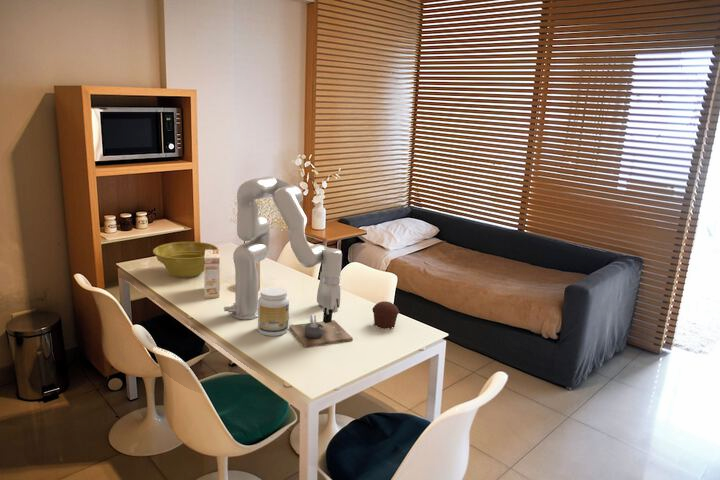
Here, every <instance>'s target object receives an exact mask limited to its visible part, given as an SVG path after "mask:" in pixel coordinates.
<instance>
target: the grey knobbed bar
mask: <svg viewBox="0 0 720 480" xmlns="http://www.w3.org/2000/svg"><path fill="white" fill-rule="evenodd" d="M309 317H310V318H309V319H310V320H309V321H310V322H308V323H309V324H307V325H305V336H306V337H308V338H312V339H316V338H320V337H322V336H323V326H322V325H321V324H318V323H316V322H317V316H316V315H315V314H311V315H310V316H309Z"/></svg>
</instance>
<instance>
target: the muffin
mask: <svg viewBox="0 0 720 480" xmlns="http://www.w3.org/2000/svg"><path fill="white" fill-rule="evenodd" d="M372 313H373V320H374V321H373V322H374V326H376V327H377V328H378V329H382V328H383V330H389V329H390V330H391V329H393V328H395V326H396V322H397V319H398V318H397V317H398V315H399V314H400V310H399V309H398V306H396V305H395V303H392V302H390V301H386V300H385V301H379V302H377V303H376V304H375V305H374V306H373V307H372ZM392 327H393V328H392ZM388 328H389V329H388Z"/></svg>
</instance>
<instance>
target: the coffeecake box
mask: <svg viewBox="0 0 720 480" xmlns="http://www.w3.org/2000/svg"><path fill="white" fill-rule="evenodd" d="M203 273H204V278H203V279H204V281H203V282H204V286H203V287H204V291H203V292H204V296H203V297H204V299H219V298H220V296H221V295H220V293H221V251H220V249H218V250H205V255H204V271H203Z"/></svg>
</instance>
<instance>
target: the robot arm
mask: <svg viewBox="0 0 720 480" xmlns="http://www.w3.org/2000/svg"><path fill="white" fill-rule="evenodd" d="M267 198H272V200H273V203H274V205H275V207H276V209H277V211H278V212H279V214H280V216H281V217H282V220H283V221H284V224H285V225H286V227H287V229H288V238H289V244H290V248H291V250H292V252H293V254H294V255H295V257H296V260H297V261H298V262H299V263H300V265H301V266H303V267H304V268H313V267H315V266H317V265H320V264H321V266H322V276H321V280H320V279H319V283H318V288H317V294H316V303H317V304H318V305H319V304H320V305H321V306H322V307H321V308H322V313H323V315H322V317H323V318H322V321H323V322H325V323H329V322H331V321H332V320H333V313H335V314H336V313H338V309H339V308H340V305H341V284H340V283H341V272H342V264H343V263H342V262H343V261H342V260H343V253H342V250H340V248H339V249H338V248H334V247H329V246H326V245H323V244H319V243H316V244H313V245H311V246H310V245H309V243H308V240H307V237H306V231H305V230H306V226H307V223H308V217H307V215H306V213H305V212H304V210H303V208H302V207H301V205H300V203H302V201H303V191H302V190H301V189H300V188H299V187H298V186H297V185H295V184H292V183H290V182H287V181H284V180H282V179H279V178H277V177H273V176H265V177H264V176H263V177H257V178H252V179H249V180H247V181H244V182H243V183H241V184H240V185H239V186H238V189H237V192H236V202H237V203H236V207H237V210H236V211H237V214H236V219H237V220H236V224H237V225H236V233H237V236H238V238H239V239H240V240H241V241H245V242H244V243H242V244H240V245H238V246H237V247H236V248H235V249H234V252H233V257H232V258H233V264H234V272H235V275H234V276H235V277H234V280H235V286H234V288H235V292H234V293H235V295H234V297H235V301H234V303H232V304H233V305H231V306H224V307H223V311H224V312H227V313H228V314H229V313H231V316H232V317H233V318H234V319H239V320H252V319H258V300H259V272H258V268H257V263H259V262H262V261H263V260H265V259H266V258H267V256H268V255H269V251H270V233H271V232H270V231H271V230H270V229H271V228H270V223H269V221H268V220H267V219H268V218H266V217H265V216H263V215H260V214H259V206H258V203H257V201H258V200H263V199H267Z"/></svg>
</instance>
